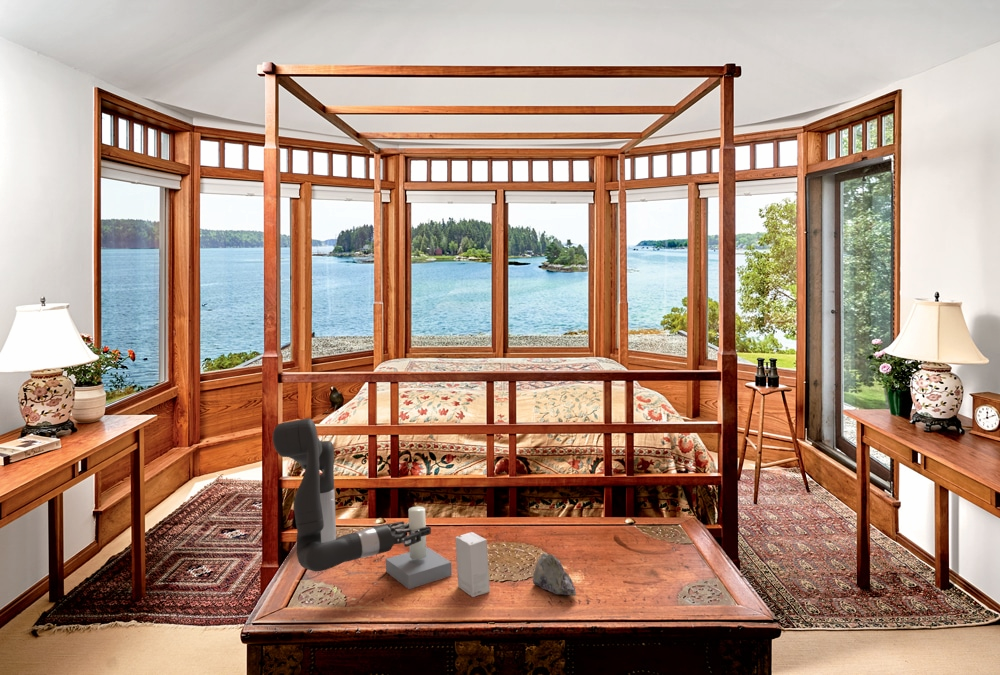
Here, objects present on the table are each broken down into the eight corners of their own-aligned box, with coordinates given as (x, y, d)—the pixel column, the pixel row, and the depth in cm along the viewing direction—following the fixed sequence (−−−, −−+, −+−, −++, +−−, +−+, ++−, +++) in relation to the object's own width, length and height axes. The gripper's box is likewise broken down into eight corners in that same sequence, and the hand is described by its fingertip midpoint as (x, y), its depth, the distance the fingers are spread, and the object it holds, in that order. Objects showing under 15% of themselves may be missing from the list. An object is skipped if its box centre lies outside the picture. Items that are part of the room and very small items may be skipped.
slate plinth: (386, 571, 193) (385, 558, 192) (427, 559, 201) (427, 546, 201) (408, 589, 181) (408, 575, 181) (451, 575, 190) (451, 562, 189)
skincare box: (490, 592, 179) (489, 539, 178) (471, 598, 176) (470, 545, 174) (474, 581, 186) (473, 530, 185) (455, 586, 183) (454, 535, 181)
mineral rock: (577, 602, 173) (577, 565, 172) (537, 604, 172) (536, 567, 171) (569, 580, 186) (569, 546, 185) (531, 581, 185) (531, 547, 184)
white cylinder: (406, 555, 191) (405, 508, 190) (421, 551, 194) (419, 505, 193) (414, 560, 187) (413, 513, 186) (429, 556, 190) (428, 509, 189)
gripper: (383, 536, 175) (438, 521, 186) (360, 520, 187) (413, 508, 197) (384, 563, 176) (438, 547, 186) (361, 546, 188) (414, 532, 198)
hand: (425, 527), depth 192 cm, fingers closed on white cylinder, 4 cm apart
